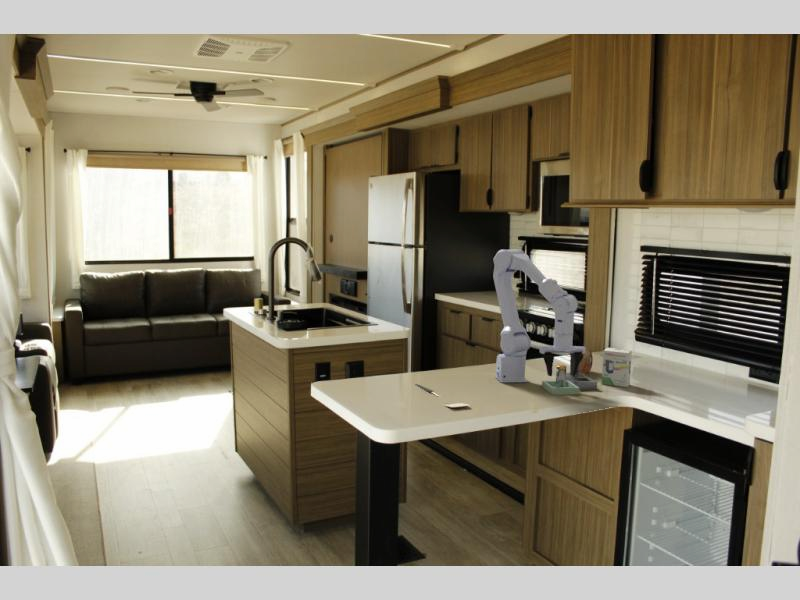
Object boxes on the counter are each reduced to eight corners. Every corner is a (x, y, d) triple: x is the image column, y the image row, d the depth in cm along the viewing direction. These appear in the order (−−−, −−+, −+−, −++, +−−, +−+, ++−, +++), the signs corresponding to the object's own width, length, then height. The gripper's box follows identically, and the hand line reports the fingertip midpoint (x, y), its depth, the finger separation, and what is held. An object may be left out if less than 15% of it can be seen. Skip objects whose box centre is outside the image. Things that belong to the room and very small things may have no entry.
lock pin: (556, 390, 217) (558, 366, 216) (554, 387, 220) (555, 364, 219) (566, 390, 217) (567, 367, 216) (563, 387, 220) (564, 364, 219)
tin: (576, 378, 235) (577, 354, 234) (567, 377, 237) (569, 353, 236) (592, 371, 247) (594, 348, 246) (584, 369, 249) (585, 347, 248)
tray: (551, 394, 213) (552, 388, 213) (541, 386, 222) (542, 380, 222) (579, 394, 215) (579, 387, 214) (568, 386, 223) (568, 380, 223)
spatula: (452, 412, 193) (452, 407, 193) (407, 386, 220) (407, 382, 219) (471, 410, 196) (471, 405, 196) (424, 385, 222) (424, 380, 222)
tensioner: (576, 389, 220) (577, 369, 219) (561, 379, 232) (562, 360, 232) (596, 389, 221) (598, 369, 220) (580, 379, 233) (581, 360, 233)
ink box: (630, 384, 229) (632, 350, 227) (627, 388, 224) (629, 352, 223) (603, 381, 233) (606, 347, 231) (600, 384, 228) (603, 349, 227)
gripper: (546, 335, 211) (543, 378, 213) (590, 335, 213) (587, 378, 215) (538, 331, 218) (536, 373, 220) (581, 331, 220) (579, 373, 222)
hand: (561, 375), depth 218 cm, fingers open, 7 cm apart
